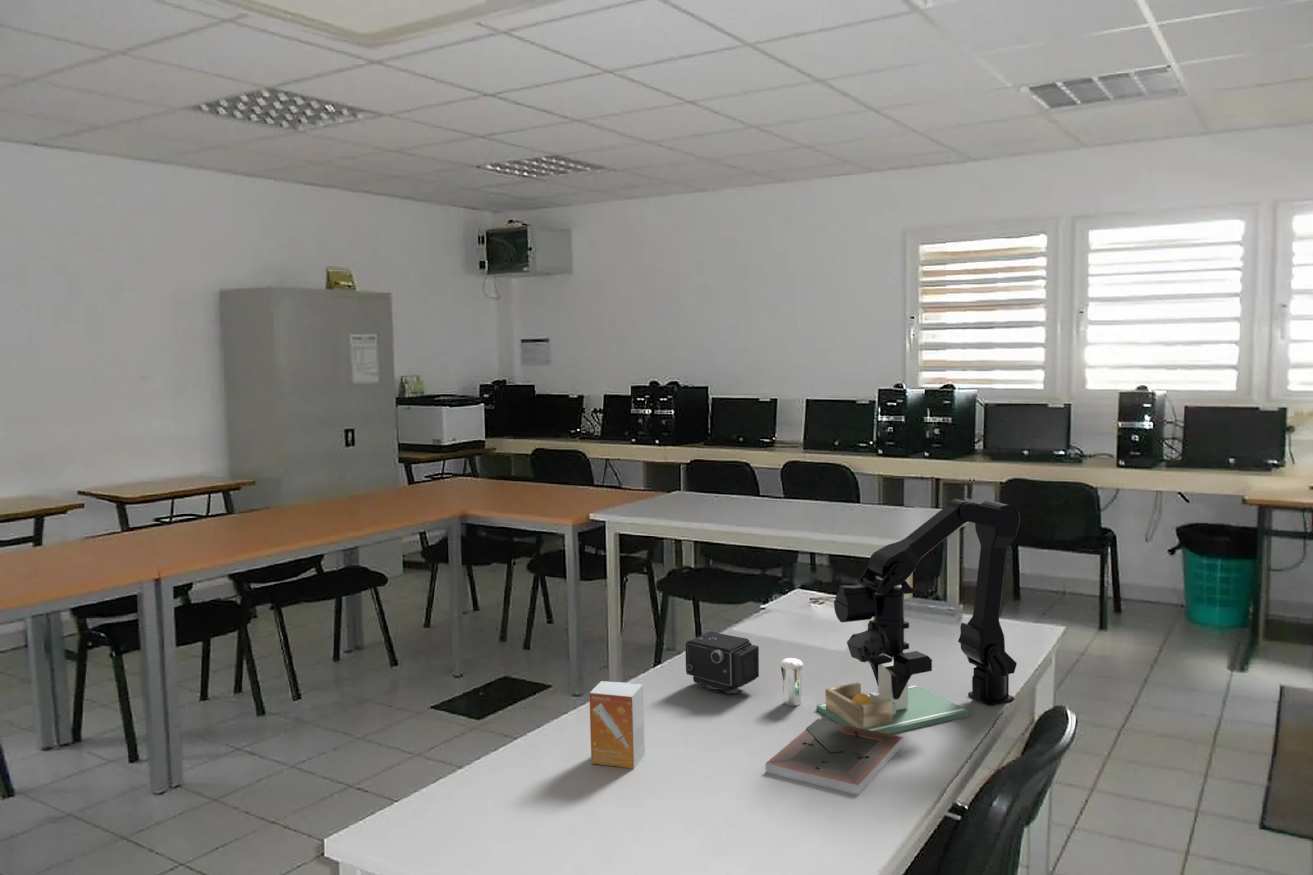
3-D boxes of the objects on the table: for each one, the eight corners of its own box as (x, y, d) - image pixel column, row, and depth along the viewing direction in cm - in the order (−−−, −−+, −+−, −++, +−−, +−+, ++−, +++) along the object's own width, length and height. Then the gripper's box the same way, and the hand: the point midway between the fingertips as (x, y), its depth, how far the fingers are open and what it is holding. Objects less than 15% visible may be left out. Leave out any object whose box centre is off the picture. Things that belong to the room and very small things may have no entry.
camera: (682, 694, 200) (741, 702, 190) (676, 642, 199) (734, 647, 190) (711, 679, 208) (769, 686, 198) (705, 628, 207) (763, 633, 198)
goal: (857, 702, 187) (857, 682, 187) (892, 721, 177) (892, 700, 177) (825, 708, 184) (825, 688, 184) (859, 729, 174) (859, 708, 174)
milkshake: (807, 708, 187) (806, 659, 186) (780, 707, 188) (779, 658, 187) (808, 699, 192) (807, 651, 191) (781, 698, 193) (780, 650, 192)
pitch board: (915, 689, 196) (915, 684, 196) (969, 715, 181) (969, 710, 181) (816, 709, 186) (816, 704, 186) (865, 739, 172) (865, 733, 172)
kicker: (890, 698, 188) (890, 659, 187) (913, 710, 181) (912, 669, 181) (869, 702, 186) (869, 663, 185) (891, 715, 179) (891, 674, 179)
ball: (843, 700, 181) (853, 715, 183) (855, 707, 178) (865, 722, 179) (857, 686, 182) (867, 701, 184) (870, 693, 179) (880, 708, 180)
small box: (590, 764, 165) (588, 692, 164) (603, 749, 171) (601, 679, 170) (634, 769, 162) (632, 696, 161) (646, 754, 169) (643, 683, 167)
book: (817, 731, 178) (765, 776, 160) (817, 718, 178) (765, 762, 160) (903, 749, 169) (858, 799, 151) (903, 735, 169) (858, 784, 151)
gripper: (826, 610, 187) (827, 687, 189) (884, 635, 170) (884, 719, 171) (872, 603, 191) (873, 678, 193) (934, 627, 174) (934, 708, 176)
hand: (889, 695), depth 183 cm, fingers closed on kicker, 4 cm apart
